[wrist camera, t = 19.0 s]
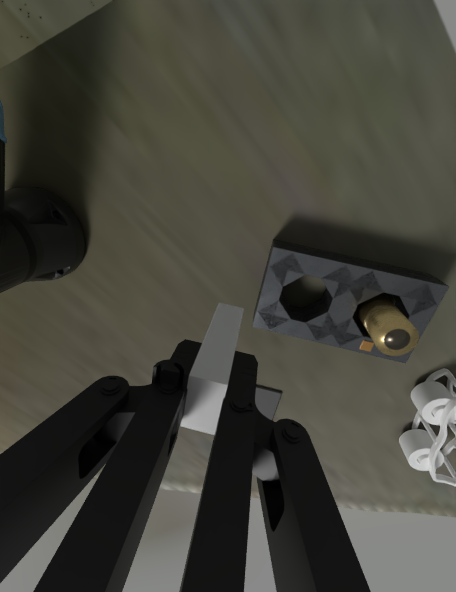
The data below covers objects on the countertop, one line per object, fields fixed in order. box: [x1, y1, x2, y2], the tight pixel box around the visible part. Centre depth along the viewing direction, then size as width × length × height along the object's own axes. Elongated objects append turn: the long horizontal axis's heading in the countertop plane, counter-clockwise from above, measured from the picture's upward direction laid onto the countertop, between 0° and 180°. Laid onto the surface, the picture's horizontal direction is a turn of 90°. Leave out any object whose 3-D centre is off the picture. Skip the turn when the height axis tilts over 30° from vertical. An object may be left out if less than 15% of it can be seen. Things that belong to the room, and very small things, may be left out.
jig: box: [252, 239, 449, 363], centre depth 43 cm, size 24×13×5 cm, turn 79°
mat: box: [255, 386, 281, 420], centre depth 58 cm, size 14×14×1 cm
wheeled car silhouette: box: [399, 368, 456, 487], centre depth 49 cm, size 20×11×7 cm, turn 3°
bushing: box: [355, 293, 419, 356], centre depth 40 cm, size 5×5×11 cm
